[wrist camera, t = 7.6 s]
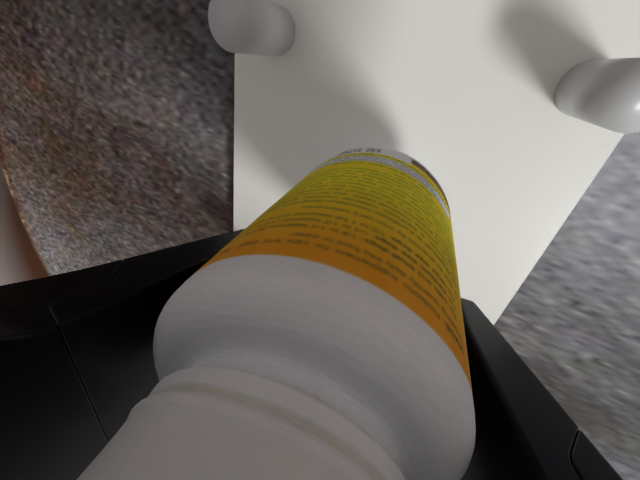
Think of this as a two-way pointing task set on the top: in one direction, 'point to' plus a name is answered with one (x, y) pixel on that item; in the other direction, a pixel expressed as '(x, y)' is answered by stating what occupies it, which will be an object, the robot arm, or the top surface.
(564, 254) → the top surface
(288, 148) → the pin tray
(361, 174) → the supplement bottle
